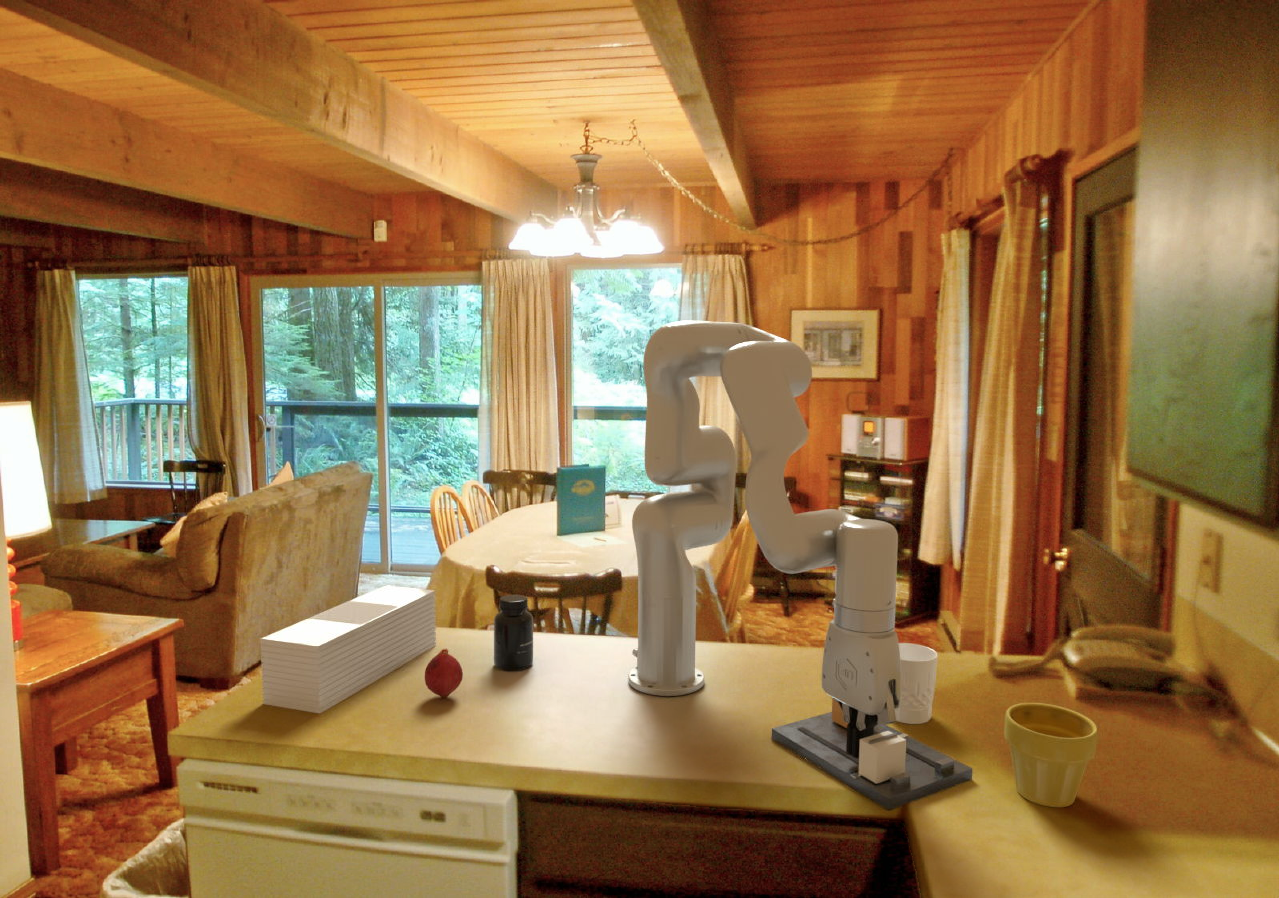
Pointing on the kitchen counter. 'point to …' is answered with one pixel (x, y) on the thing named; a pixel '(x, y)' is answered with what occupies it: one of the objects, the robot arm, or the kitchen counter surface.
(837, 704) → the block
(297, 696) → the stack of papers
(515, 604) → the supplement bottle
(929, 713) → the white cup
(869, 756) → the fader
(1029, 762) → the plant pot
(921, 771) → the console board
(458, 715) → the kitchen counter surface
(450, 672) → the onion
